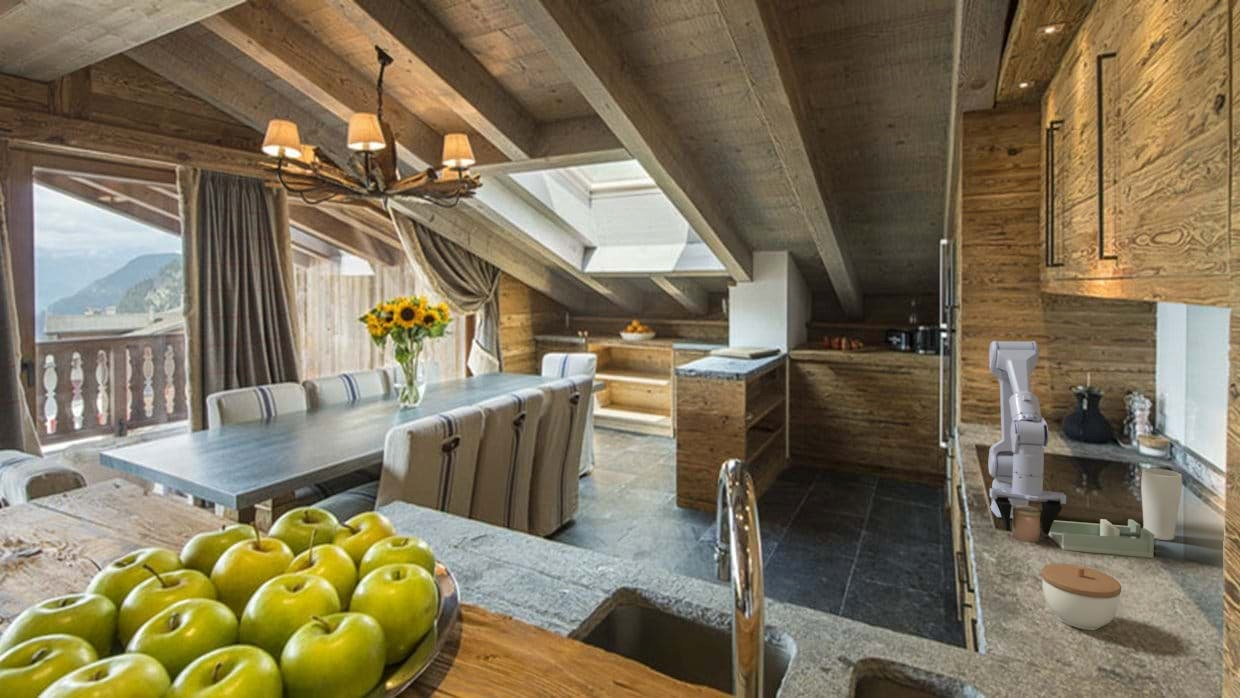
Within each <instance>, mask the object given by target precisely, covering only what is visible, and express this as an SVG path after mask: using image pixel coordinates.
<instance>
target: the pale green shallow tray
mask: <svg viewBox="0 0 1240 698" xmlns="http://www.w3.org/2000/svg"><path fill="white" fill-rule="evenodd" d="M1113 525H1114V526H1115V527H1116V528H1118V529H1119V530H1120V531H1126V532H1139V533H1141V537H1130V536H1119V537H1111V536H1100V523H1092V522H1079V521H1066V520H1056V519H1055V520H1054V521H1053V523H1052V526H1051V528H1050V531H1049V534H1047V535H1048V536H1049V537H1050V538H1051V539H1052V540H1053V541H1054V542H1055V543H1056V544H1057V545H1058V546H1059V547H1060V548H1061V549H1062V550H1064V551H1073V552H1084V553H1085V552H1086V553H1093V554H1095V553H1096V554H1104V555H1105V554H1108V555H1118V556H1127V557H1128V556H1130V557H1138V558H1139V557H1141V558H1151V559H1154V556H1155V555H1154V550H1155V549H1154V548H1155V539H1154V534H1153V533H1151V532H1150V531H1148V530H1147V529H1145V528H1143V527H1141V524H1140V523H1138V522H1137V521H1135V520H1134V519H1132V518H1129V519H1127V525H1120V524H1119V525H1118V524H1113Z"/></svg>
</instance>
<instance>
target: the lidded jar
mask: <svg viewBox="0 0 1240 698" xmlns="http://www.w3.org/2000/svg"><path fill="white" fill-rule="evenodd" d="M1041 577H1042V578H1041V588H1042V594H1043V598H1044V600H1045V603H1046V605H1047V606H1048V608H1049V609H1050V611H1051V612H1052V613H1053V614H1054V615H1055V616H1056V618H1057V619H1058V620H1059V621H1060V622H1061V621H1062V623H1063V622H1064V623H1063V624H1065V623H1066V624H1065V625H1067V624H1068V625H1067V626H1069V625H1071V626H1070V627H1072V626H1074V627H1073V628H1075V627H1078V628H1077V629H1079V628H1083V629H1098V628H1100V627H1101V628H1102V627H1103V626H1105V625H1107V624H1110V623H1111V621H1113V619H1114V618H1115V617H1116V615H1117V614H1118V613H1117V612H1118V610H1119V605H1120V601H1121V600H1120V599H1121V592H1122V585H1121V583H1120V581H1118V580H1117V579H1116V578H1114V577H1113V576H1111V575H1109V574H1107V573H1105V572H1102V571H1099V570H1096V569H1094V568H1090V567H1087V566H1082V565H1078V564H1072V563H1071V564H1070V563H1050V564H1047V565H1044V566H1043V567H1042V568H1041ZM1101 628H1100V629H1101ZM1083 629H1082V630H1083ZM1098 630H1099V629H1098Z"/></svg>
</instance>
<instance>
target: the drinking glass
mask: <svg viewBox="0 0 1240 698" xmlns="http://www.w3.org/2000/svg"><path fill="white" fill-rule="evenodd" d="M1141 472H1142V473H1141V479H1140V484H1141V485H1140V491H1141V493H1140V494H1141V506H1142V508H1141V509H1142V522H1143V525H1142V528H1145V529H1147V530H1148V531H1150V532H1151V533H1153V534H1154V540H1159V541H1173V540H1174V539H1175V537H1176V536H1175V535H1176V527H1177V522H1178V521H1177V520H1178V513H1179V508H1180V504H1181V503H1180V502H1181V497H1182V489H1183V478H1182V477H1183V475H1182V474H1181V473H1179V472H1177V471H1175V470H1174V471H1173V470H1169V469H1163V468H1153V467H1151V468H1143V469H1142V471H1141Z"/></svg>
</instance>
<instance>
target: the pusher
mask: <svg viewBox="0 0 1240 698" xmlns="http://www.w3.org/2000/svg"><path fill="white" fill-rule="evenodd" d="M1099 524H1100V536H1111V537H1119V536H1130V537H1140V538H1141V532H1140V533H1139V532H1126V531H1120V530H1119V529H1118V528H1116V527H1115V526H1114V525H1115V524H1112V523H1111V522H1110V521H1108V519H1106V518H1105V519H1104V518H1100V521H1099Z"/></svg>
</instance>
